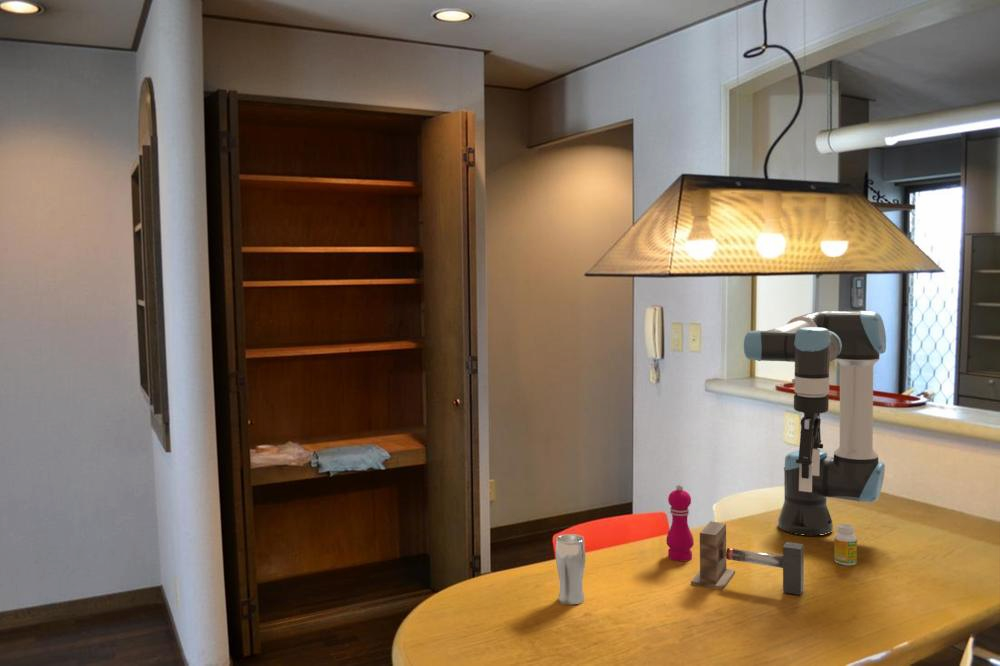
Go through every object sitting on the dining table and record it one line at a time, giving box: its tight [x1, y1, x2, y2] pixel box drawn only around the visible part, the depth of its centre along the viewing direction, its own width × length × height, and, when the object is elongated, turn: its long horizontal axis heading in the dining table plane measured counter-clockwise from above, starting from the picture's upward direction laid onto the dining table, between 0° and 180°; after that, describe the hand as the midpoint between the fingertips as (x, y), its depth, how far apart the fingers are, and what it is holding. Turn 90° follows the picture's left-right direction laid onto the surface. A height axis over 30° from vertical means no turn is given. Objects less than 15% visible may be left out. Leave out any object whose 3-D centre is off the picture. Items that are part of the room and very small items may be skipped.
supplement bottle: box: [833, 523, 858, 566], centre depth 205 cm, size 5×5×10 cm
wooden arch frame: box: [690, 520, 736, 591], centre depth 196 cm, size 8×12×13 cm, turn 150°
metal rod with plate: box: [726, 541, 805, 596], centre depth 190 cm, size 18×4×11 cm, turn 60°
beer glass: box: [555, 533, 586, 606], centre depth 186 cm, size 7×7×15 cm
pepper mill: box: [665, 484, 694, 562], centre depth 212 cm, size 7×7×20 cm
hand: (809, 483), depth 185 cm, fingers open, 13 cm apart
